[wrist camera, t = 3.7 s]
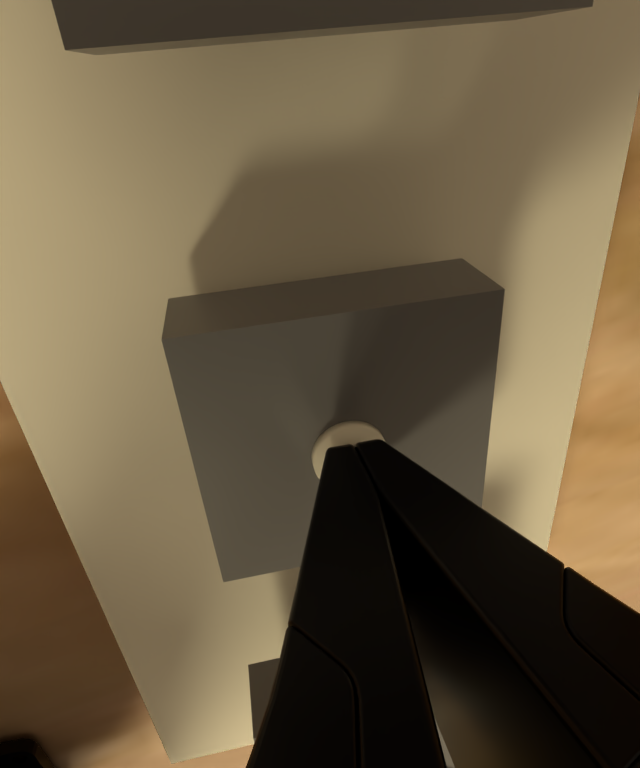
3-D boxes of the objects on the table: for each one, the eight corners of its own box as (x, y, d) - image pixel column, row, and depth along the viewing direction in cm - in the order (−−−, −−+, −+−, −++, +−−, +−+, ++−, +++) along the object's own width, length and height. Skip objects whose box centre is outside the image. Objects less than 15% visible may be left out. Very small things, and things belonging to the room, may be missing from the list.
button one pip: (448, 479, 11) (484, 538, 10) (221, 522, 11) (223, 591, 9) (461, 258, 9) (511, 293, 7) (168, 298, 8) (159, 345, 7)
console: (479, 601, 20) (520, 680, 17) (176, 667, 18) (171, 763, 16) (613, -533, 7) (832, -858, 5) (-281, -574, 6) (-641, -1050, 3)
